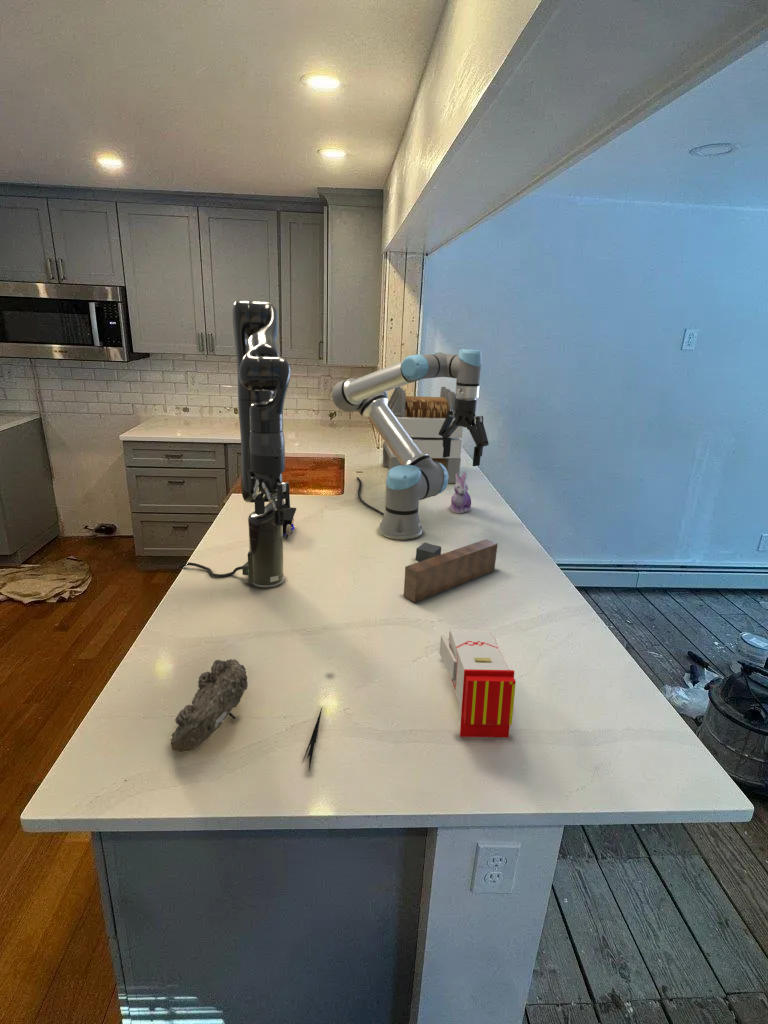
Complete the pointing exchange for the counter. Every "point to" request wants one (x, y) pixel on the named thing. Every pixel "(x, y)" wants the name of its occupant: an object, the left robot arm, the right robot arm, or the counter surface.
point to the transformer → (426, 428)
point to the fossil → (210, 704)
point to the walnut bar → (449, 570)
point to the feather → (313, 740)
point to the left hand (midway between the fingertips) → (269, 519)
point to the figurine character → (288, 521)
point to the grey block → (427, 551)
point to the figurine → (460, 496)
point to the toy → (479, 682)
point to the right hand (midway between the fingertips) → (460, 461)
